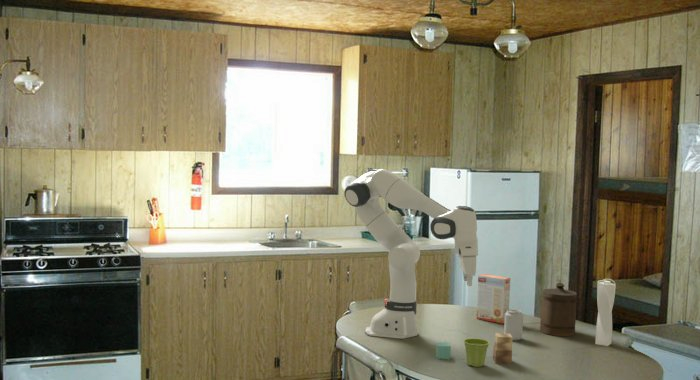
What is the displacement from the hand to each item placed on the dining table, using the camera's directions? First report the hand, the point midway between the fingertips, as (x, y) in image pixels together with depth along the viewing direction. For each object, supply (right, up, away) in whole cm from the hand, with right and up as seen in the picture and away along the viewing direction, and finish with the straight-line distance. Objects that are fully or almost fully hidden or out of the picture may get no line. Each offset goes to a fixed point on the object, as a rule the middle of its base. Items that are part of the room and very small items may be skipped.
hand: (467, 283), depth 285 cm
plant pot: (0, -28, -15) cm, 32 cm away
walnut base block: (+11, -28, -10) cm, 32 cm away
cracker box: (+21, -25, +57) cm, 65 cm away
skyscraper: (+60, -28, +21) cm, 69 cm away
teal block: (-11, -27, -7) cm, 30 cm away
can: (+23, -27, +25) cm, 43 cm away
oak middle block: (+12, -23, -10) cm, 28 cm away
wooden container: (+46, -27, +39) cm, 65 cm away
